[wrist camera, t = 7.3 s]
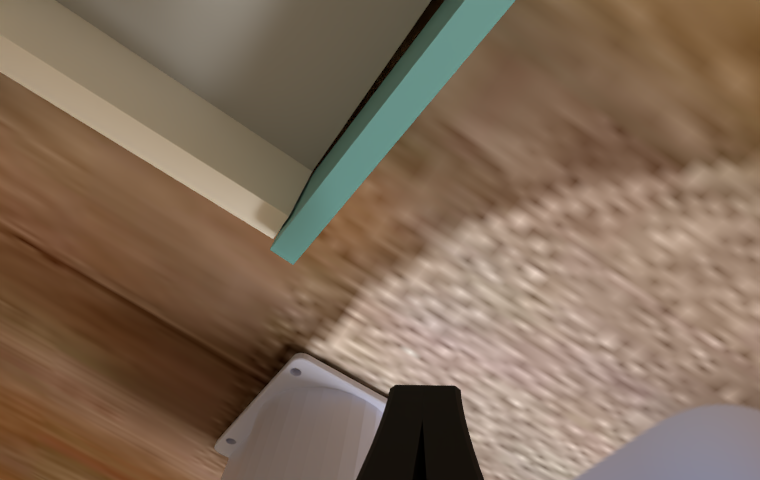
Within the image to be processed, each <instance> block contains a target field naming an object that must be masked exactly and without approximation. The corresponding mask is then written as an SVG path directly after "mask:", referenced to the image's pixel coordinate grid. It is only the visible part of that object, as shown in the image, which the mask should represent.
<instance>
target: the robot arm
mask: <svg viewBox="0 0 760 480" xmlns="http://www.w3.org/2000/svg"><path fill="white" fill-rule="evenodd" d="M295 368H296V369H295ZM297 369H299V370H297ZM215 450H216V451H217V452H218V453H220V454H222V455H224V456H226V457H228V458H229V460H228V462H227V465H226V467H225V470H224V472H223V475H222V477H221V480H484V478H483V475H482V473H481V470H480V467H479V464H478V461H477V458H476V455H475V452H474V449H473V445H472V442H471V439H470V435H469V432H468V428H467V424H466V420H465V416H464V411H463V405H462V400H461V390H460V389H459V388H457V387H456V386H432V385H395V386H393V387H392V388H391V389H390V392H389V396H388V399H387V398H385V397H383V396H382V395H380V394H378V393H376V392H374V391H373V390H371V389H369V388H367V387H365V386H364V385H362V384H360V383H358V382H356V381H355V380H353V379H351V378H349V377H347V376H346V375H344V374H342V373H340V372H338V371H337V370H335V369H333V368H331V367H329V366H328V365H326V364H324V363H322V362H321V361H319V360H317V359H315V358H313V357H312V356H310V355H308V354H305V353H297V354H295V355H294V356H293V357H292V358H291V359H290V360H289V361H288V362H287V363H286V364H285V366H284V367H283V368H282V369H281V370H280V371H279V372H278V373H277V374H276V376H275V377H274V378H273V379H272V380H271V381H270V382H269V383H268V384H267V386H266V387H265V388H264V389H263V390H262V391H261V392H260V393H259V394H258V395H257V397H256V398H255V399H254V400H253V401H252V402H251V403H250V404H249V405H248V407H247V408H246V409H245V410H244V411H243V412H242V413H241V414H240V415H239V417H238V418H237V419H236V420H235V421H234V422H233V423H232V424H231V425H230V427H229V428H228V429H227V430H226V431H225V432H224V433H223V434H222V435H221V437H220V438H219V439H218V440H217V442H216V444H215Z"/></svg>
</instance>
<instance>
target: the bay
mask: <svg viewBox="0 0 760 480" xmlns="http://www.w3.org/2000/svg"><path fill="white" fill-rule="evenodd" d="M430 2H431V0H0V72H1V73H3V74H4V75H6V76H8V77H9V78H11V79H13V80H14V81H16V82H18V83H19V84H21V85H22V86H24V87H26V88H27V89H29V90H31V91H32V92H34V93H35V94H37V95H39V96H40V97H42V98H44V99H45V100H47V101H49V102H50V103H52V104H53V105H55V106H57V107H58V108H60V109H62V110H63V111H65V112H67V113H68V114H70V115H71V116H73V117H75V118H76V119H78V120H80V121H81V122H83V123H85V124H86V125H88V126H89V127H91V128H93V129H94V130H96V131H98V132H99V133H101V134H102V135H104V136H106V137H107V138H109V139H111V140H112V141H114V142H116V143H117V144H119V145H120V146H122V147H124V148H125V149H127V150H129V151H130V152H132V153H134V154H135V155H137V156H138V157H140V158H142V159H143V160H145V161H147V162H148V163H150V164H152V165H153V166H155V167H156V168H158V169H160V170H161V171H163V172H165V173H166V174H168V175H169V176H171V177H173V178H174V179H176V180H178V181H179V182H181V183H183V184H184V185H186V186H187V187H189V188H191V189H192V190H194V191H196V192H197V193H199V194H201V195H202V196H204V197H205V198H207V199H209V200H210V201H212V202H214V203H215V204H217V205H219V206H220V207H222V208H223V209H225V210H227V211H228V212H230V213H232V214H233V215H235V216H236V217H238V218H240V219H241V220H243V221H245V222H246V223H248V224H250V225H251V226H253V227H254V228H256V229H258V230H259V231H261V232H263V233H264V234H266V235H268V236H269V237H271V238H272V239H273V238H274V237H275V235H276V234H277V233H278V231H279V230H280V228H281V227H282V225H283V224H284V223H285V221H286V220H287V218H288V217H289V215H290V213H291V211H292V210H293V208H294V206H295V204H296V202H297V200H298V198H299V196H300V194H301V192H302V190H303V189H304V187H305V185H306V183H307V181H308V179H309V177H310V175H311V173H312V171H313V170H314V168H315V167H316V166H317V164H318V163H319V161H320V160H321V158H322V157H323V156H324V154H325V153H326V151H327V150H328V148H329V147H330V145H331V144H332V143H333V141H334V140H335V138H336V137H337V135H338V134H339V133H340V131H341V130H342V128H343V127H344V125H345V124H346V122H347V121H348V120H349V118H350V117H351V115H352V114H353V112H354V111H355V109H356V108H357V107H358V105H359V104H360V102H361V101H362V99H363V98H364V97H365V95H366V94H367V92H368V91H369V89H370V88H371V86H372V85H373V84H374V82H375V81H376V79H377V78H378V76H379V75H380V74H381V72H382V71H383V69H384V68H385V66H386V65H387V63H388V62H389V61H390V59H391V58H392V56H393V55H394V53H395V52H396V51H397V49H398V48H399V46H400V45H401V43H402V42H403V40H404V39H405V38H406V36H407V35H408V33H409V32H410V30H411V29H412V28H413V26H414V25H415V23H416V22H417V20H418V19H419V17H420V16H421V15H422V13H423V12H424V10H425V9H426V7H427V6H428V4H429V3H430Z"/></svg>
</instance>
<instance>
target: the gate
mask: <svg viewBox="0 0 760 480" xmlns="http://www.w3.org/2000/svg"><path fill="white" fill-rule="evenodd" d="M514 1H515V0H444V2H443V3H442V4H441V6H440V7H439V8H438V10H437V11H436V12H435V14H434V15H433V16H432V18H431V19H430V20H429V21H428V23H427V24H426V25H425V27H424V28H423V29H422V31H421V32H420V33H419V35H418V36H417V37H416V39H415V40H414V41H413V43H412V44H411V45H410V47H409V48H408V49H407V50H406V52H405V53H404V54H403V56H402V57H401V58H400V60H399V61H398V62H397V64H396V65H395V66H394V68H393V69H392V70H391V72H390V73H389V74H388V75H387V77H386V78H385V79H384V81H383V82H382V83H381V85H380V86H379V87H378V89H377V90H376V91H375V93H374V94H373V95H372V97H371V98H370V99H369V101H368V102H367V103H366V104H365V106H364V107H363V108H362V110H361V111H360V112H359V114H358V115H357V116H356V118H355V119H354V120H353V122H352V123H351V124H350V126H349V127H348V128H347V130H346V131H345V132H344V133H343V135H342V136H341V137H340V139H339V140H338V141H337V143H336V144H335V145H334V147H333V148H332V149H331V151H330V152H329V153H328V155H327V156H326V157H325V159H324V160H323V161H322V162H321V164H320V165H319V166H318V168H317V169H316V170H315V172H314V173H313V174H312V176H311V177H310V178H309V180H308V181H307V183H306V185H305V187H304V189H303V190H302V192H301V194H300V196H299V198H298V200H297V202H296V204H295V206H294V208H293V210H292V211H291V213H290V215H289V217H288V218H287V220H286V221H285V223H284V224H283V226H282V228H281V229H280V231H279V233H278V235H277V237H276V239H275V241H274V243H273V245H272V246H271V248H270V250H271V251H273V252H274V253H276V254H277V255H279V256H280V257H282V258H284V259H285V260H287V261H288V262H290V263H291V264H293V265H294V263H295V262H296V261H297V260H298V259H299V257H300V256H301V255H302V254H303V253H304V251H305V250H306V249H307V248H308V247H309V245H310V244H311V243H312V242H313V241H314V239H315V238H316V237H317V236H318V235H319V234H320V232H321V231H322V230H323V229H324V228H325V226H326V225H327V224H328V223H329V222H330V220H331V219H332V218H333V217H334V216H335V214H336V213H337V212H338V211H339V210H340V209H341V207H342V206H343V205H344V204H345V203H346V201H347V200H348V199H349V198H350V197H351V195H352V194H353V193H354V192H355V191H356V189H357V188H358V187H359V186H360V185H361V184H362V182H363V181H364V180H365V179H366V178H367V176H368V175H369V174H370V173H371V172H372V170H373V169H374V168H375V167H376V166H377V164H378V163H379V162H380V161H381V160H382V159H383V157H384V156H385V155H386V154H387V153H388V151H389V150H390V149H391V148H392V147H393V145H394V144H395V143H396V142H397V141H398V139H399V138H400V137H401V136H402V135H403V134H404V132H405V131H406V130H407V129H408V128H409V126H410V125H411V124H412V123H413V122H414V120H415V119H416V118H417V117H418V116H419V114H420V113H421V112H422V111H423V110H424V109H425V107H426V106H427V105H428V104H429V103H430V101H431V100H432V99H433V98H434V97H435V95H436V94H437V93H438V92H439V91H440V89H441V88H442V87H443V86H444V85H445V84H446V82H447V81H448V80H449V79H450V78H451V76H452V75H453V74H454V73H455V72H456V70H457V69H458V68H459V67H460V66H461V64H462V63H463V62H464V61H465V60H466V59H467V57H468V56H469V55H470V54H471V53H472V51H473V50H474V49H475V48H476V47H477V45H478V44H479V43H480V42H481V41H482V39H483V38H484V37H485V36H486V35H487V34H488V32H489V31H490V30H491V29H492V28H493V26H494V25H495V24H496V23H497V22H498V20H499V19H500V18H501V17H502V16H503V14H504V13H505V12H506V11H507V10H508V8H509V7H510V6H511V5H512V4H513V3H514Z"/></svg>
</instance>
